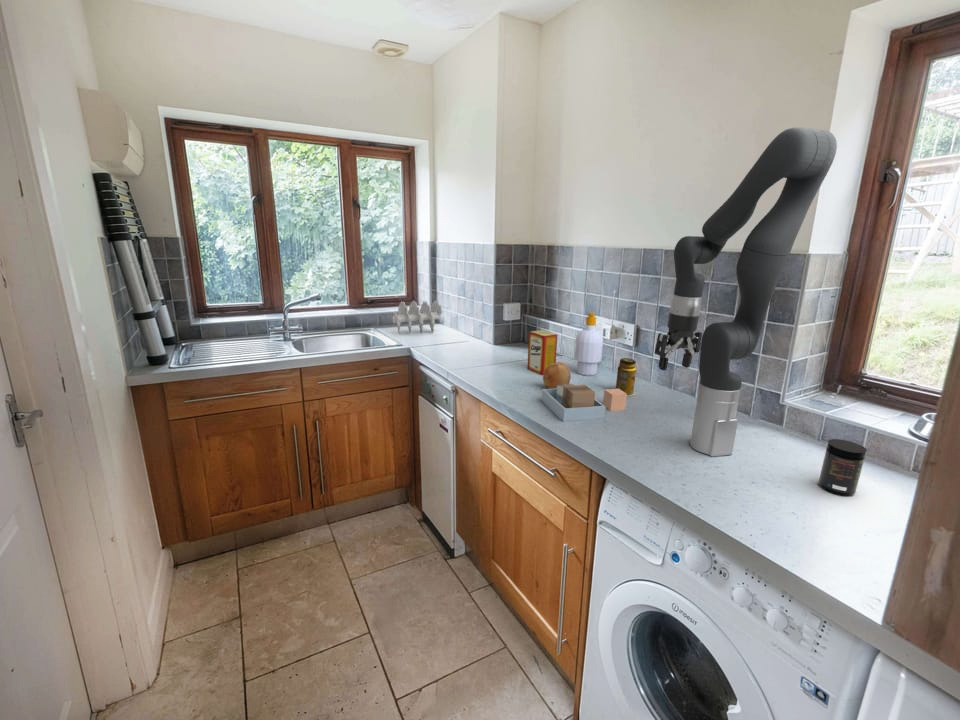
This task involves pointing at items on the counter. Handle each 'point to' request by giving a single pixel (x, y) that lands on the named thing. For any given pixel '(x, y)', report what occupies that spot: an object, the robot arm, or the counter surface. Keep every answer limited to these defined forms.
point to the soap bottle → (588, 347)
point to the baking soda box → (541, 350)
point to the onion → (556, 375)
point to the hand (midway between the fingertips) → (674, 368)
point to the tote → (572, 413)
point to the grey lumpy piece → (417, 314)
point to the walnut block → (577, 396)
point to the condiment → (626, 376)
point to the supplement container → (842, 467)
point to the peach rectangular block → (614, 399)
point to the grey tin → (560, 392)
